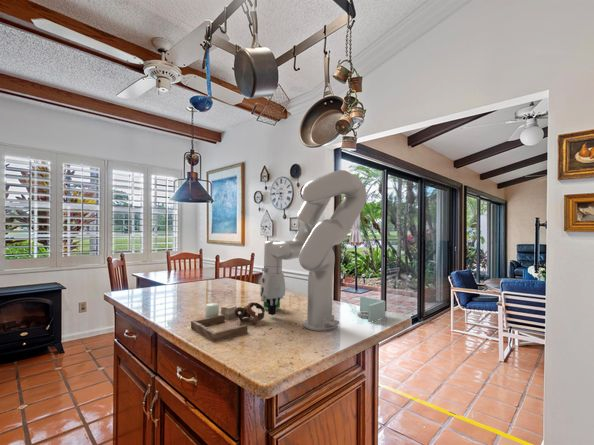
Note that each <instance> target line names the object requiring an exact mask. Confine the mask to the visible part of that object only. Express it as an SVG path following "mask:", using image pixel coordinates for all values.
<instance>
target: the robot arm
mask: <svg viewBox="0 0 594 445" xmlns="http://www.w3.org/2000/svg"><path fill="white" fill-rule="evenodd" d="M339 195H340V196H343V199H342V200H341V202H339V204H338V205H337V206H336V208H335V210H334V211H333V213H332V215H331V216H330V218H329V219H328V218H327V219H322V220H320V218H321V216H322V214H323V213H324V211H325V209H326V208H327V206H328V204H329V202H330V201H331V199H332V198H334V197H336V196H339ZM301 197H302V199H303V200H304V201H303V203H302V205H301V206H300V209H299V210H298V212H297V214H296V219H297V222H298V230H297V232H296V234H295V236H294V238H293V239H292V240H285V241H284V240H283V241H281V240H274V239H273V240H271V239H270V240H265V242H264V245H263V246H264V248H263V251H264V252H263V254H264V256H263V268H262V269H261V271H262V272H263V273H262V276H261V280H260V290H259V295H260V297H261V298H260V301H261V302H263V303H264V302H266V303H267V304H268V311H267V313H268V315H270V316H274V315H275V316H276V312H277V311H276V305H277V303H278V301H279V299H280V300H282V299H283V298H284V296H285V295H286V281H285V276H284V273H283V272H282V271H283V260H284V261H286V260H293V259H298V261H299V262H298V263H299V265H300V266H301V267H302V269H304V270H306V271H308V276H307V316H306V317H307V318H306V319H305V320H303V324H302V326H303V328H305V329H308V330H311V331H317V332H319V331H320V332H328V331H333V330H334V329H336V328H338V325H340V324H339V323H340V321H339V320H337V319H335V315H333V286H334V282H333V281H334V271H335V270H334V268H335V262H336V259H335V258H336V256H335V252H334V249H333V247H334V246H338V245H340V244H342V243H343V242H344V241H345V240H346V238H347V236H348V234H349V233H350V231H351V229H352V228H353V226H354V225H355V222H356V221H357V220H358V217H359V216H360V214H361V212H362V211H363V209H364V207H365V205H366V203H367V202H366V201H367V189H366V186H365V185H364V183H363V182H362V180H361V179H360V178H359V177H358V176H356V174H354V173H351V172H350V171H347V170H345V169H344V170H343V169H339V170H335V171H332V172H329V173H327V174H324V175H322V176H319V177H317V178H313V179H311V180H309V181H308V182H306V183H305V184H304V185H303V187H302V189H301ZM319 220H320V221H319ZM318 221H319V222H318Z"/></svg>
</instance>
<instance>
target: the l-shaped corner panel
mask: <svg viewBox="0 0 594 445" xmlns="http://www.w3.org/2000/svg"><path fill="white" fill-rule="evenodd" d="M357 315H358V318H359V317H362V318H361V319H367V323H368V322H372V321H375V320H377V319H380V318H382V319H384V318H386V300H383V299H377V298H372V297H368V296H363V295H360V297H359V311H358V312H357ZM383 317H384V318H383ZM380 320H381V319H380ZM377 321H378V320H377ZM375 322H376V321H375ZM372 323H373V322H372Z"/></svg>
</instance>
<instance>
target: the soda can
mask: <svg viewBox="0 0 594 445" xmlns="http://www.w3.org/2000/svg"><path fill="white" fill-rule="evenodd" d="M262 306H263V307H264V309H265V311H266V312H268V304H267V303H266V302H263V305H262ZM280 308H281V299H279V301H278V303H277V305H276V312H277V311H278V310H279V309H280Z"/></svg>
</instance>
